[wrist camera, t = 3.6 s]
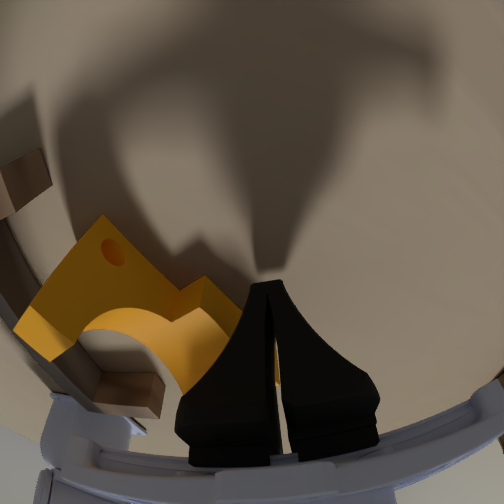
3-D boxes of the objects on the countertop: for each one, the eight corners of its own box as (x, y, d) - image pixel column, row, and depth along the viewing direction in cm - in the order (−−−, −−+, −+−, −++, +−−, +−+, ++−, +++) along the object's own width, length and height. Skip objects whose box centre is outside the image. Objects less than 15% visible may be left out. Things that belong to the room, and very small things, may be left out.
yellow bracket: (275, 341, 17) (285, 437, 11) (220, 364, 18) (216, 452, 13) (126, 190, 11) (48, 280, 6) (77, 241, 13) (12, 330, 7)
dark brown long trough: (97, 383, 20) (88, 411, 18) (-25, 190, 10) (-55, 212, 8) (165, 386, 20) (159, 419, 17) (39, 148, 10) (-1, 169, 7)
